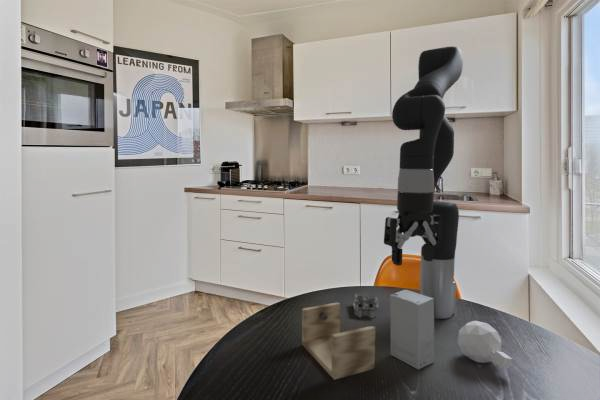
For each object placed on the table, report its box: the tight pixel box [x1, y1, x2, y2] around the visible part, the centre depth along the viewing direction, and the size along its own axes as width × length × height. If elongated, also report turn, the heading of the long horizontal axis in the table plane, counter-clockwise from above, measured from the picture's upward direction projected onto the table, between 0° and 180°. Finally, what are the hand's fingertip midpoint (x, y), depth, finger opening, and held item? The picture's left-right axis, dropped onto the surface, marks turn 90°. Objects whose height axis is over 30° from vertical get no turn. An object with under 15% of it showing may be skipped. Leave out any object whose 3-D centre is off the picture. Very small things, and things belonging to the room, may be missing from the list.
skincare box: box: [389, 289, 435, 370], centre depth 83 cm, size 8×6×15 cm
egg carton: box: [352, 292, 379, 319], centre depth 111 cm, size 10×7×4 cm
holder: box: [301, 302, 376, 381], centre depth 85 cm, size 10×16×9 cm, turn 24°
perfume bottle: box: [457, 320, 513, 369], centre depth 82 cm, size 9×9×12 cm
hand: (412, 262), depth 82 cm, fingers open, 8 cm apart
